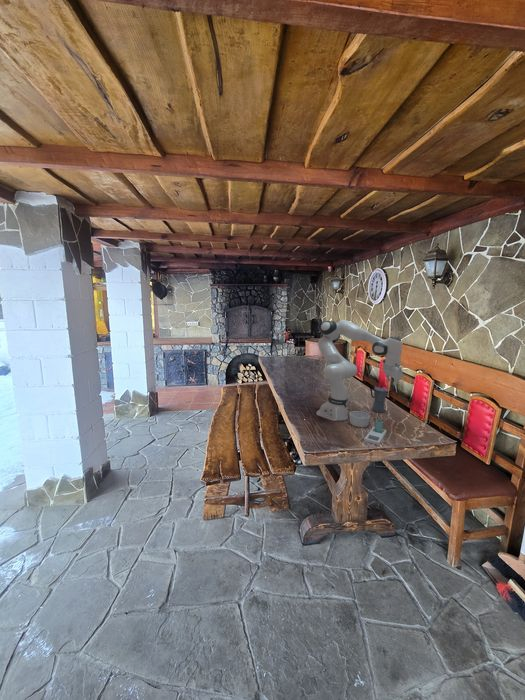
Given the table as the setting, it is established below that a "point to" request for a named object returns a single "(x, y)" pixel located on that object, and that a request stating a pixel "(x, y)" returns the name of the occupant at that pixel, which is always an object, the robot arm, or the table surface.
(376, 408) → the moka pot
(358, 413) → the ramekin
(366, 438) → the socket panel
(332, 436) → the table surface
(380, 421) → the teal plug
